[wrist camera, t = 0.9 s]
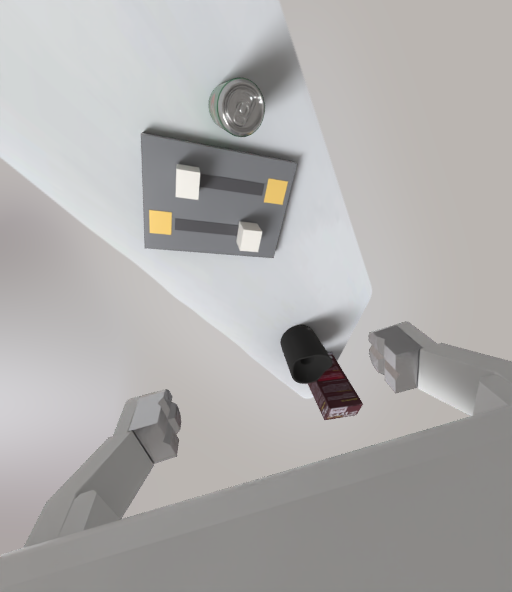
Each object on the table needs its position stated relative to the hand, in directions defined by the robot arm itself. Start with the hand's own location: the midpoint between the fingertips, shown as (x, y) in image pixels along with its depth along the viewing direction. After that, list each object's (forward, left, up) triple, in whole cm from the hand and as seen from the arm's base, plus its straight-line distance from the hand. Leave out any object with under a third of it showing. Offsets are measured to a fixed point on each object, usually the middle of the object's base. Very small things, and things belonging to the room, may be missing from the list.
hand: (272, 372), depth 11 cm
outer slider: (+8, +7, -36) cm, 37 cm away
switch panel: (+4, +2, -38) cm, 38 cm away
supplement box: (+42, +33, -38) cm, 66 cm away
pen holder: (+34, +25, -38) cm, 57 cm away
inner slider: (+1, -3, -36) cm, 36 cm away
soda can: (-9, +2, -38) cm, 39 cm away
